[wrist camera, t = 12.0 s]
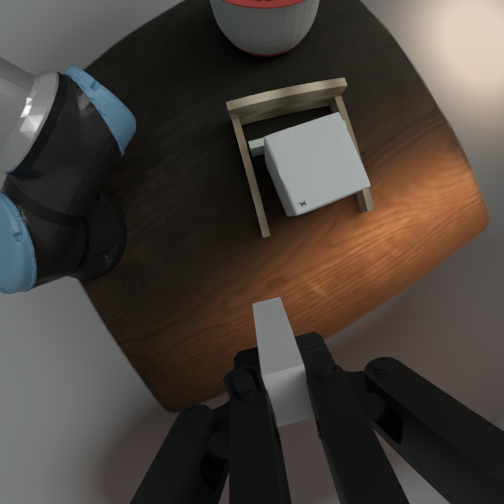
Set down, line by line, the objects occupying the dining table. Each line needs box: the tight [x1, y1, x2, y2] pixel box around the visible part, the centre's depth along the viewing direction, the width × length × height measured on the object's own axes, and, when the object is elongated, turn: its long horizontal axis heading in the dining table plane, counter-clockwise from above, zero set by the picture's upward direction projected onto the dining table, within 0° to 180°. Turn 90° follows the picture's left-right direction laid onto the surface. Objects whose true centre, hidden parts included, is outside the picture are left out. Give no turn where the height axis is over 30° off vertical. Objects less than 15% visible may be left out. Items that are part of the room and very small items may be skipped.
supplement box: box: [264, 112, 371, 216], centre depth 38 cm, size 9×9×15 cm
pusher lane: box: [226, 78, 374, 237], centre depth 41 cm, size 16×18×8 cm
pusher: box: [249, 121, 347, 157], centre depth 42 cm, size 13×1×6 cm, turn 105°
